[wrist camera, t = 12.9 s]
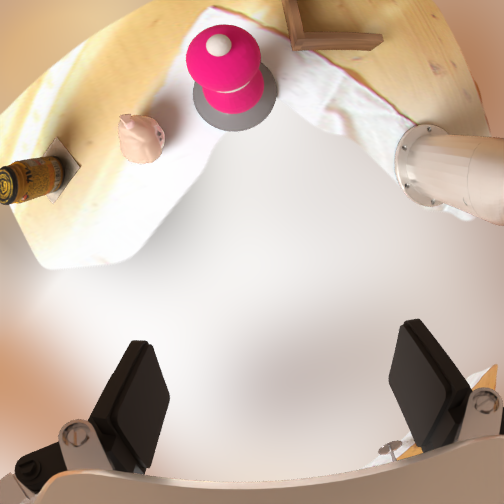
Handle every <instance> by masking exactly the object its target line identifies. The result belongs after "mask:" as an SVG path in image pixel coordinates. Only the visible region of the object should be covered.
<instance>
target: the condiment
mask: <svg viewBox="0 0 504 504" xmlns="http://www.w3.org/2000/svg"><path fill="white" fill-rule="evenodd" d="M79 168H80V167H79V165H78V164H77V162H76V161H75V160H74V159H73V157H72V156H71V154H70V153H69V152H68V151H67V149H66V148H65V147H64V146H63V144H62V143H61V142H60V140H59V139H58V138H57V137H56V138H55V139H54V141H53V142H52V144H51V145H50V146H49V148H48V149H47V151H46V152H45V154H44V156H43V157H40V158H34V159H27V160H21V161H15V162H14V163H12V164H11V165H8V166H4V167H2V168H0V203H1V204H3V205H9V204H13V203H23V202H25V201H28V200H31V199H34V198H37V197H40V196H43V195H47V197H48V199H49V200H50V201H51V202H52V204H54V202H55V201H56V200H57V198H58V197H59V195H60V194H61V193H62V191H63V190H64V189H65V187H66V186H67V184H68V183H69V181H70V180H71V179H72V177H73V176H74V175H75V173H76V172H77V171H78V169H79Z"/></svg>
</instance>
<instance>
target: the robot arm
mask: <svg viewBox="0 0 504 504" xmlns="http://www.w3.org/2000/svg"><path fill="white" fill-rule="evenodd" d="M427 129H428V130H427ZM402 146H403V149H402ZM394 163H395V173H396V177H397V180H398V183H399V185H400V187H401V189H402V190H403V192H404V193H405V194H406V195H407V197H408V198H410V199H411V200H412V201H414V202H416V203H418V204H420V205H423V206H428V207H433V206H438V205H440V204H443V203H445V204H448V205H450V206H453V207H455V208H457V209H460V210H462V211H465V212H467V213H469V214H472V215H474V216H476V217H478V218H481V219H483V220H485V221H488V222H490V223H492V224H495V225H499V226H504V138H495V137H482V136H464V135H449V134H448V133H447V132H446V131H445V130H443V129H442V128H440V127H438V126H435V125H430V124H423V125H418V126H415V127H413V128H411V129H409V130H408V131H407V132H406V133H405V134H404V135H403V137H402V138H401V140H400V142H399V144H398V146H397V149H396V153H395V162H394ZM405 184H406V185H405ZM389 384H390V387H391V389H392V391H393V393H394V395H395V397H396V399H397V402H398V404H399V406H400V408H401V411H402V413H403V415H404V417H405V420H406V422H407V424H408V426H409V429H410V431H411V434H412V436H413V438H414V441H415V443H416V445H417V446H418V447H421V448H422V451H423V453H422V454H419V455H415V456H412V457H409V458H405V459H402V460H398V461H394V462H391V463H387V464H383V465H379V466H375V467H370V468H366V469H361V470H356V471H351V472H345V473H339V474H333V475H327V476H320V477H312V478H304V479H293V480H282V481H263V482H212V481H196V480H183V479H173V478H163V477H156V476H148V475H145V471H146V468H150V466H151V463H152V460H153V456H154V453H155V449H156V446H157V442H158V439H159V435H160V432H161V428H162V425H163V421H164V418H165V415H166V411H167V408H168V404H169V401H170V395H169V391H168V389H167V386H166V383H165V380H164V378H163V375H162V372H161V369H160V367H159V363H158V360H157V357H156V354H155V352H154V348H153V346H152V345H151V344H148V342H147V341H137V340H134V341H131V343H130V344H129V346H128V348H127V350H126V351H125V353H124V355H123V357H122V359H121V361H120V363H119V364H118V366H117V368H116V370H115V371H114V373H113V374H112V376H111V377H110V379H109V381H108V383H107V385H106V387H105V388H104V390H103V392H102V394H101V396H100V398H99V400H98V402H97V404H96V406H95V408H94V409H93V411H92V413H91V415H90V418H89V419H88V421H86V420H81V419H77V420H72V421H70V422H68V423H66V424H65V425H64V426H63V427H62V428H61V430H60V432H59V435H58V439H59V441H58V442H57V443H54V444H51V445H49V446H47V447H44V448H42V449H39V450H37V451H34V452H32V453H30V454H27V455H25V456H23V457H21V458H20V459H19V460H18V461H17V463H16V465H15V474H11V473H9V474H7V475H6V476H5V477H3V478H2V479H1V480H0V504H504V407H503V401H502V398H501V396H500V395H499V394H498V393H497V392H496V391H494V390H493V389H490V388H484V387H483V388H478V389H476V390H474V391H472V389H471V388H470V385H469V384H468V382H467V381H466V380H465V378H464V377H463V376H462V374H461V373H460V371H459V370H458V368H457V367H456V366H455V364H454V363H453V361H452V360H451V359H450V357H449V356H448V355H447V353H446V352H445V351H444V349H443V348H442V347H441V346H440V344H439V343H438V342H437V340H436V339H435V338H434V337H433V335H432V334H431V332H430V331H429V330H428V329H427V327H426V326H425V325H424V324H423V323H422V321H421V320H420V319H414V320H408V321H405V322H404V324H403V325H401V326H400V329H399V334H398V339H397V344H396V348H395V353H394V357H393V361H392V365H391V370H390V374H389ZM135 473H137V474H135ZM141 474H143V475H141Z"/></svg>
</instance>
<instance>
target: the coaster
mask: <svg viewBox="0 0 504 504" xmlns="http://www.w3.org/2000/svg"><path fill="white" fill-rule="evenodd" d="M259 70H260V71H261V73H262V76H263V80H264V91H263V94H262V97H261V98H260V100H259V101H258V103H257V104H256V105H255V106H254V107H252V108H251V109H249V110H247V111H245V112H243V113H238V114H227V113H223V112H220V111H218V110H216V109H214V108H213V107H212V106H211V105H210V104H209V103H208V102H207V100H206V98H205V96H204V93H203V90H202V86H201V85H199V84H198V83H197V82H196V81H195V84H194V89H193V100H194V104H195V107H196V109H197V111H198V113H199V114H200V116H201V117H202V118H203V119H204V120H205V121H206V122H207V123H209V124H210V125H212V126H214V127H216V128H218V129H221V130H224V131H243V130H247V129H250V128H252V127H254V126H256V125H258V124H259V123H261V122H262V121H263V120H264V119H265V118H266V117H267V116H268V115H269V114H270V112H271V110H272V108H273V106H274V104H275V101H276V93H277V90H276V84H275V80H274V78H273V76H272V74H271V72H270V71H269V70H268V68H267V67H266V66H265V65H264V64H262V63H261V62H260V66H259Z"/></svg>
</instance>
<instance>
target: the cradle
mask: <svg viewBox="0 0 504 504" xmlns="http://www.w3.org/2000/svg"><path fill="white" fill-rule="evenodd" d="M282 4H283V8H284V13H285V17H286V22H287V27H288V31H289V36H290V41H291V47H292V51H302V50H366V51H371V50H372V49H373V48H375V47H376V46H378V45H379V44H380V43H382V42H383V37H382V35H381V34H369V33H353V32H304V31H303V26H302V22H301V17H300V13H299V9H298V4H297V0H282Z"/></svg>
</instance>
